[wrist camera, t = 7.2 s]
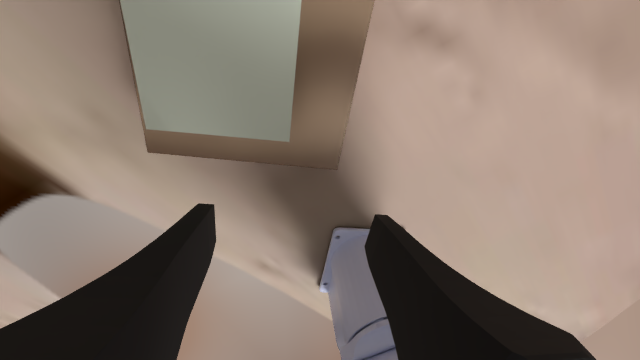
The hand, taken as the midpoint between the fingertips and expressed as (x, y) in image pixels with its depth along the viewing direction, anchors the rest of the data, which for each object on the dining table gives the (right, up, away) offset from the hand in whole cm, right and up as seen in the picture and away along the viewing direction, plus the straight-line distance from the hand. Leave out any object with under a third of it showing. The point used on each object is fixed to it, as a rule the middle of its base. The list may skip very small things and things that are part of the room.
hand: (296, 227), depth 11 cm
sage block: (-3, +9, +2) cm, 10 cm away
